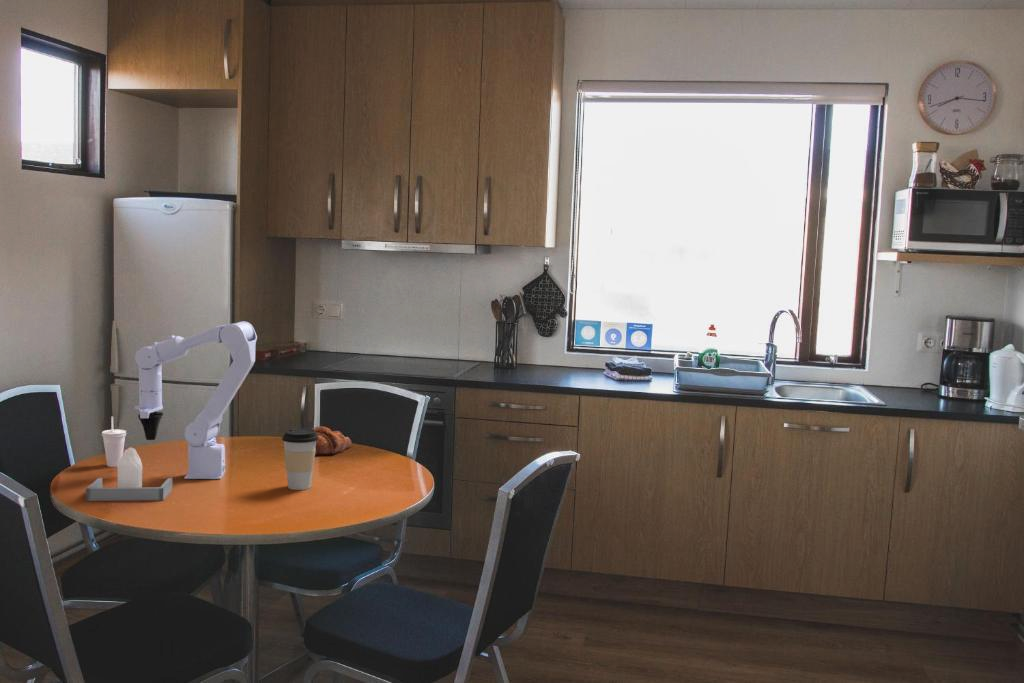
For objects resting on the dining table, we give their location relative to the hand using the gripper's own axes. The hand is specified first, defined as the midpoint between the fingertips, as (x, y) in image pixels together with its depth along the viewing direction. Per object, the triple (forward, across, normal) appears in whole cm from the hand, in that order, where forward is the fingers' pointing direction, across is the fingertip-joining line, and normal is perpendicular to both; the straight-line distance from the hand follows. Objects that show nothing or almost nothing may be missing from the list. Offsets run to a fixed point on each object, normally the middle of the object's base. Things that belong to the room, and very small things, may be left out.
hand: (151, 439), depth 247 cm
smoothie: (+10, -9, -12) cm, 18 cm away
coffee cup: (+10, +15, +41) cm, 45 cm away
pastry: (+10, -27, +45) cm, 53 cm away
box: (+9, +21, 0) cm, 23 cm away
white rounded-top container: (+10, +20, 0) cm, 22 cm away
